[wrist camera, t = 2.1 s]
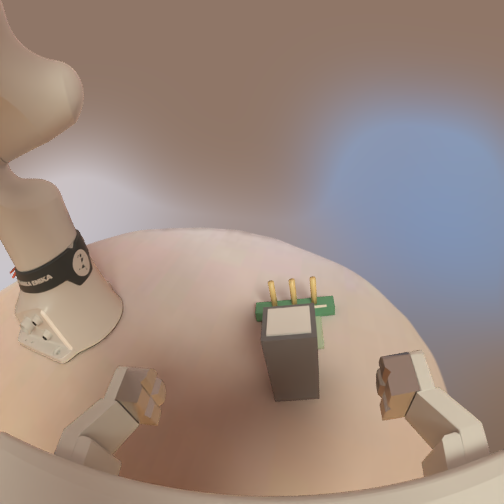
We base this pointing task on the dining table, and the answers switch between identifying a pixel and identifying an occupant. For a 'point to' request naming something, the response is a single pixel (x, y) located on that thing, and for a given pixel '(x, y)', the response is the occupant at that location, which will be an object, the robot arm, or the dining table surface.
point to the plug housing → (291, 351)
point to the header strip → (298, 300)
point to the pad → (319, 332)
